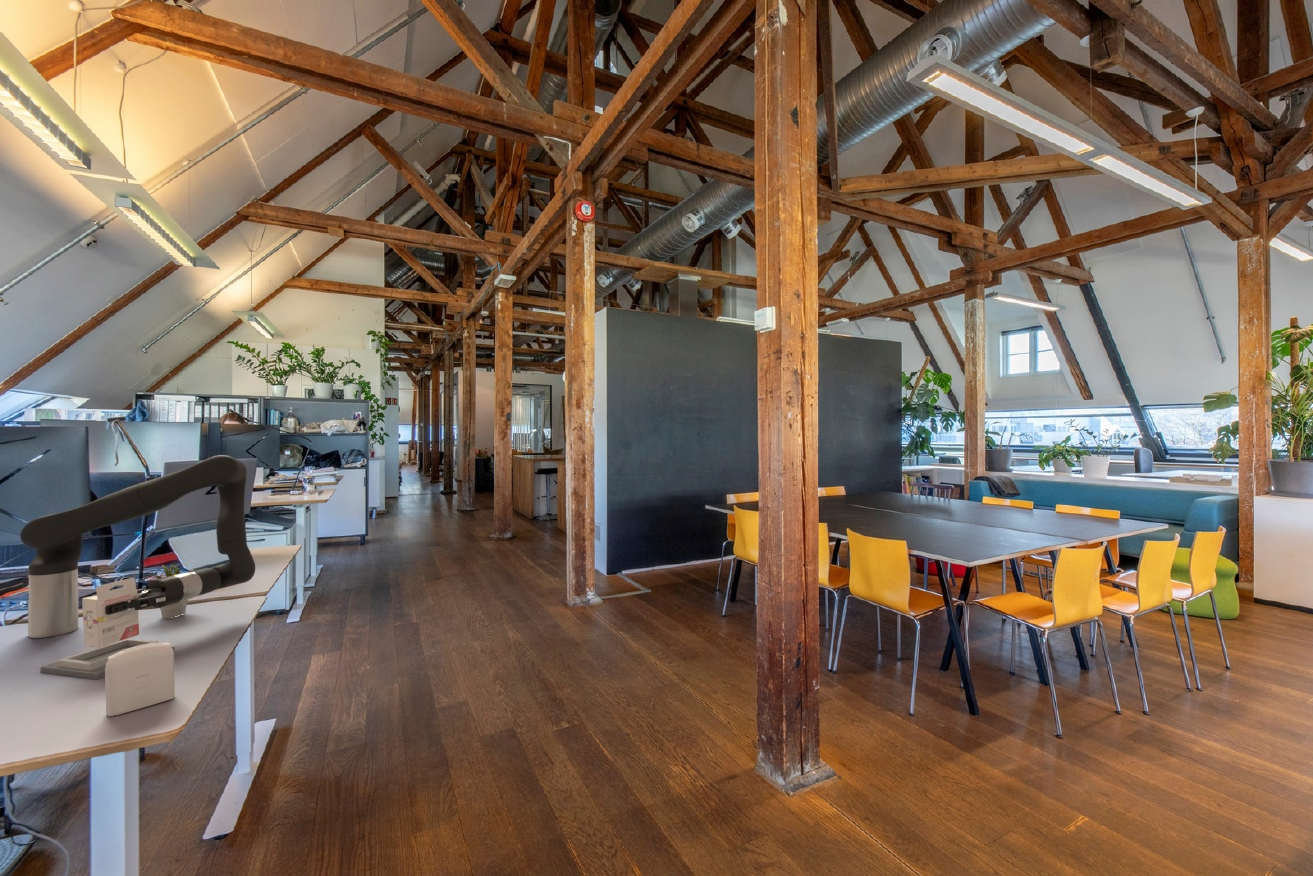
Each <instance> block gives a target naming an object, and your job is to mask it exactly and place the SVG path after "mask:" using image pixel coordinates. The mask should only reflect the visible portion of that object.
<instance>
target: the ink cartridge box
mask: <svg viewBox="0 0 1313 876" xmlns="http://www.w3.org/2000/svg"><path fill="white" fill-rule="evenodd" d="M115 586H122V587H118V588H115ZM111 588H115V589H111ZM95 590H96V595H92V596H87V597H83V598H81V602H82V603H81V605H82V619H83V620H82V622H83V626H82V627H83V643H84V647H85V648H87V647H88V648H100V647H103V646H106V645H109V644H112V643H115V642H118V641H121V640H125V639H128V638H133V637H135V636H139V634H140V623H139V622H140V621H139V610H135V609H132V610H129V611H128V610H124V611H121V612H117V613H114V614H110V615H107V614H105V607H106V606H107V605H110V604H114V603H118V602H122V601H125V602H126V600H128V599H131V598H133V597H134V596H135V595H137V590H138V589H137V583H136V578H135V577H130V578H126V579H121V580H118V581H113V582H108V583H106V584H105V583H104V584H100V585H97V586H96V587H95Z"/></svg>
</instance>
